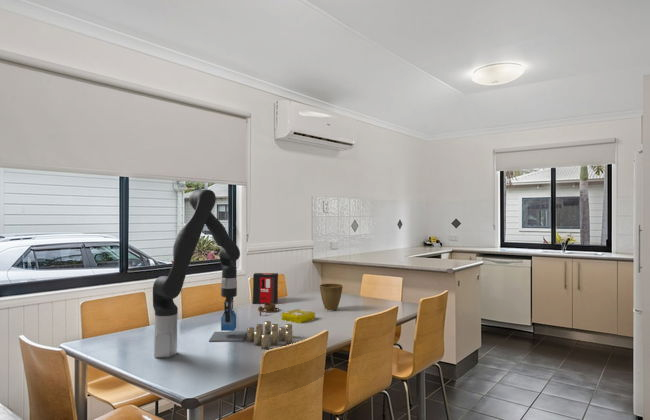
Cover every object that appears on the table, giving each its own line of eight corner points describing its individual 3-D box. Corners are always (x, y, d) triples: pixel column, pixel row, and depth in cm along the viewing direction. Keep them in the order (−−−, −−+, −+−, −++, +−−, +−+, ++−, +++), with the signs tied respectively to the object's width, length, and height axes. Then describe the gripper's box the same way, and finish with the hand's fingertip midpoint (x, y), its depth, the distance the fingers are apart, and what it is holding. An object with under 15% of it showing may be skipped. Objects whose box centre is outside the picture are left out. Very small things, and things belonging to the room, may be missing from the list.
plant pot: (319, 307, 285) (320, 283, 285) (342, 307, 285) (342, 283, 285) (318, 312, 270) (319, 286, 271) (342, 312, 270) (342, 287, 270)
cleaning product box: (252, 304, 293) (253, 274, 293) (254, 301, 302) (254, 273, 302) (277, 304, 294) (277, 274, 295) (277, 301, 303) (278, 273, 303)
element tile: (316, 319, 252) (316, 311, 253) (299, 324, 241) (299, 315, 241) (297, 315, 262) (297, 307, 262) (280, 320, 250) (280, 311, 250)
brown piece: (286, 312, 270) (286, 303, 270) (260, 317, 256) (260, 307, 256) (268, 308, 283) (268, 299, 283) (243, 312, 268) (243, 303, 269)
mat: (243, 341, 204) (243, 340, 205) (208, 341, 203) (208, 340, 203) (246, 332, 220) (246, 331, 220) (214, 332, 219) (214, 331, 219)
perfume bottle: (236, 327, 215) (236, 303, 215) (233, 330, 209) (234, 305, 209) (223, 327, 215) (224, 303, 215) (220, 330, 209) (221, 305, 209)
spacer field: (292, 349, 193) (292, 335, 194) (244, 349, 192) (244, 336, 192) (291, 332, 222) (292, 320, 222) (249, 332, 220) (250, 321, 220)
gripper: (235, 289, 205) (234, 324, 205) (238, 284, 220) (238, 317, 219) (219, 289, 205) (218, 324, 204) (223, 284, 219) (223, 317, 219)
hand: (228, 320), depth 212 cm, fingers closed on perfume bottle, 6 cm apart
